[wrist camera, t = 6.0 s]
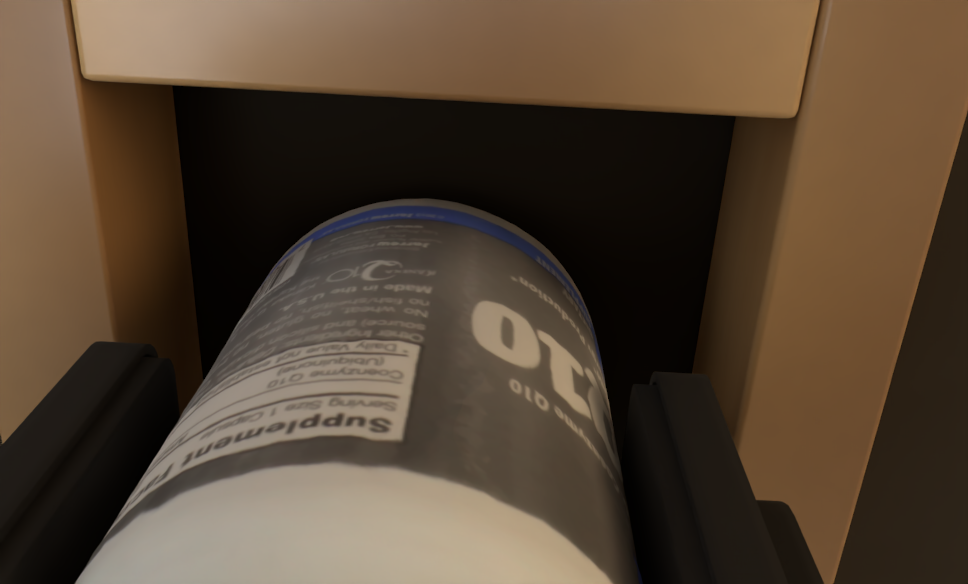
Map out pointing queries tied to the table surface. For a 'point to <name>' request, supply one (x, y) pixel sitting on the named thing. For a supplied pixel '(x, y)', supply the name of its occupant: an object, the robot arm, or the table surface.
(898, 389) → the table surface
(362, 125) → the table surface
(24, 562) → the robot arm
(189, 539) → the pill bottle
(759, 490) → the holder
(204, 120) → the table surface
